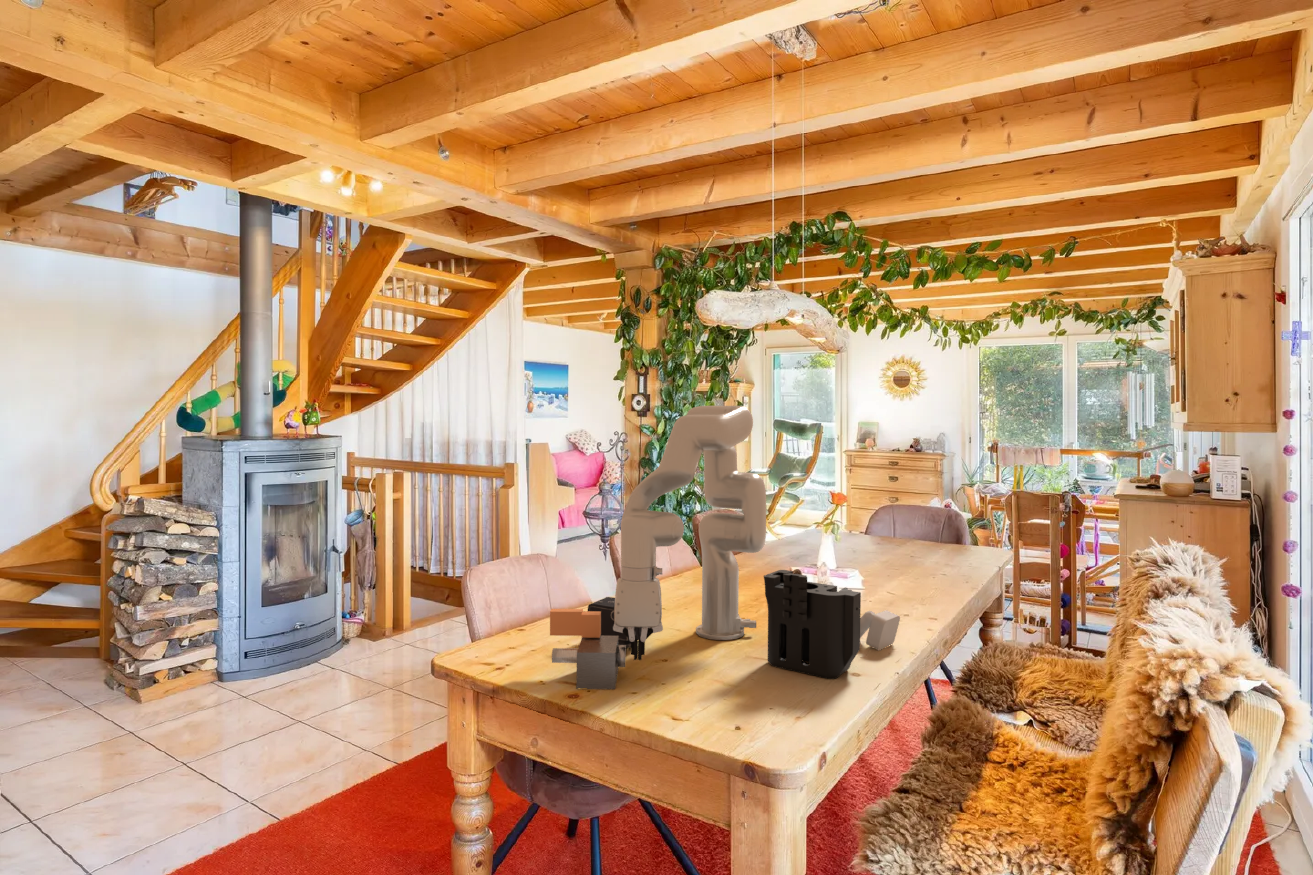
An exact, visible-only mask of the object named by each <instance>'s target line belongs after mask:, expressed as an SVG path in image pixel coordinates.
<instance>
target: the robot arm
mask: <svg viewBox="0 0 1313 875" xmlns="http://www.w3.org/2000/svg"><path fill="white" fill-rule="evenodd" d="M753 426H754V418H753V415H752V413H751V411H750V410H749V409H748V408H747V407H746V406H743V405H700V406H698V405H697V406H694V407H691V408H690V409H689V410H688V411H687V413H686V415H682V416H680V417H678V418H677V419H676V420H675V422H674V424H673V427H672V429H671V432H670V435H669V437H668V440H667V443H666V446H665V449H664V452H663V455H662V457H661V461H660V463H659V466H658V467H657V468H656V469H655V470H653V471H652V472H651V473H649V474H648V475H647V476H646V477H645V478H643V480H642V481H641V482H639V483H638V484H637V485H636V487H635V488H633V490H632V492H630V495H629V497H628V499H627V503H626V505H625V508H624V510H623V513H622V516H621V521H620V577H619V578H618V579H617V581H616V587H615V595H614V598H615V608H614V621H615V622H614V626H613V630H614V631H617V632H621V633H624V634H625V635H626V636H627V637H628V638H629V640H630V641H631V647H630V655H631V656H633V661H642V657H643V656H645V654H646V640H647V639H649V637H651V636H652V634H655V633H660V632H663V630H664V628H663V622H662V618H663V617H662V616H663V611H662V610H663V607H662V606H663V605H662V589H661V588H662V587H661V582H660V579H659V578H658V576H660V575H663V568H660V567H658V566H657V565H656V564H657V563H656V562H657V560H656V559H657V547H671V546H674V545H676V544H678V543H679V542H680V541H681V539H682V537H683V535H684V532H685V531H684V530H685V525H684V522H683V520H682V519H681V517H680V516H679V515H677V514H675V513H673V512H668V511H657V510H650V509H649V507H650V506H651V505H652V503H654V501H656V500H657V499H658V498H659V497H661V496H663V495H665V494H667V493H668V494H669V493H670V492H672V491H676V490H678V489H680V488H682V487H685V486H687V485H689V484H691V482H692V481H693V480H694V478H695V475H696V471H697V468H698V465H699V462H700V460H701V458H702V457H701V455H702V454H703V460H704V461H703V464H704V467H703V468H704V469H703V470H704V476H703V477H704V478H703V479H704V498H705V501H706V504H708V505H709V506H711V507H713V508H719V509H720V508H721V509H728V510H730V509H731V510H742V512H743V514H740V513H739V514H737V513H733V512H732V513H729V512H709V513H708V514H706V515H704V516H703V517H702V518H701V519H700V521H699V524H698V536H699V542H700V547H701V548H700V549H701V559H702V560H701V567H702V569H701V570H702V571H701V572H702V573H701V576H702V577H701V579H702V580H701V624H699V625H697V626H696V628H695V634H696V635H698V636H699V637H701V638H704V639H707V640H713V641H714V640H715V641H730V640H736V639H739V638H742V637H743V636H744V634H745V628H749V629H757V620H753V619H751V618H742V617H741V616H740V613H739V589H740V587H739V585H740V584H739V582H740V581H739V578H740V577H739V574H740V572H739V570H740V569H739V564H738V561H737V559H736V557H735V555H734V553H733V552H739V553H748V554H750V553H751V554H752V553H753V554H754V553H758V552H760V551H761V550H762V549H764V545H765V543H766V537H767V491H766V490H767V489H766V484H765V483H764V482H765V481H764V479H763V478H762V477H761V476H760V475H759V474H756V473H753V472H741V471H739V470H738V453H737V449H736V447H735V446H737V445H738V444H740V443H742V442H743V441H745V440H746V439H747V438H748V437H749V436H750V435H751V432H752V431H753ZM634 627H642V631H641V635H640V636H639V639H637V636H636V635H635V628H634Z"/></svg>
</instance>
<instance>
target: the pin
mask: <svg viewBox="0 0 1313 875" xmlns="http://www.w3.org/2000/svg"><path fill="white" fill-rule="evenodd" d="M626 649H627V648H626V645H618V649H617V650H616V663H617V667H618V668H626V661H627V660H626V656H627V655H626V654H627V653H626V652H627V650H626ZM577 650H578V648H576V647H575V648H573V647H572V648H569V647H567V648H563V647H562V648H561V647H560V648H559V647H558V648H557V647H556V648H555V647H554V648H552V652H551V663H553V664H554V663H555V664H556V663H557V664H558V663H559V664H561V663H562V664H577Z"/></svg>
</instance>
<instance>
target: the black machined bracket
mask: <svg viewBox="0 0 1313 875" xmlns="http://www.w3.org/2000/svg"><path fill="white" fill-rule="evenodd" d="M763 582H764V595H765V599H766V604H767V605H766V606H767V662H768V664H769V665H771V666H772V667H775V668H779V669H784V670H788V671H793V672H797V673H801V674H806V675H810V676H815V677H819V678H822V679H823V678H824V679H827V680H828V679H829V680H831V679H832V680H834V679H837V678H838V677H840V676H841V675H842V674H844V673H845V672H846V671H848V670H849V669H850V667H851V664H852V663H853V661H854V659H855V658H856V656H857V655H858V653H859V651H860V650H861V638H860V618H861V602H862V601H861V598H862V595H861V594H862V593H861V592H860V591H854V590H852V589H848V587H847V586H846V587H843V588H842V589H840V590H838V585H835V584H828V583H826V584H825V583H820V582H812V581H808V576H807V575H803V574H798V573H794V572H793V570H789V569H788V570H787V569H778V570H776V571H773V572H772V571H771V572H770V573H767V574H764V575H763ZM805 662H808V664H806V663H805Z"/></svg>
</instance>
